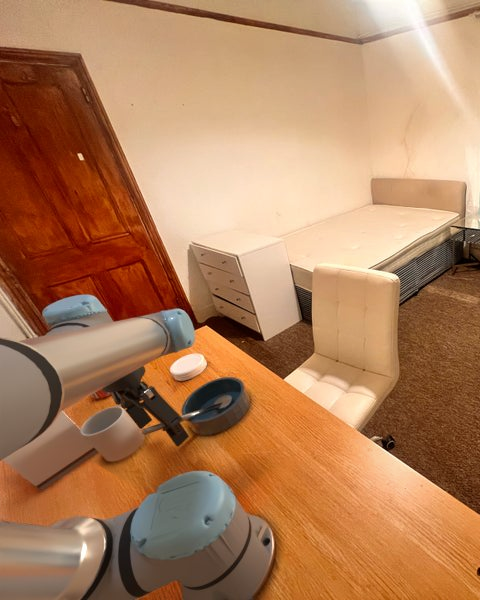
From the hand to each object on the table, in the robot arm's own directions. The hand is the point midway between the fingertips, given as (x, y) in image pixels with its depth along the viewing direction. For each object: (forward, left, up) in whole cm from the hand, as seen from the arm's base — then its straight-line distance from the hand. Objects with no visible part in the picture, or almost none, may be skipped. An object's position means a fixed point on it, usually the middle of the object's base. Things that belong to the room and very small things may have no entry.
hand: (163, 432), depth 74 cm
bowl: (+13, 0, -8) cm, 16 cm away
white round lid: (+22, +25, -9) cm, 35 cm away
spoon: (+7, 0, -8) cm, 11 cm away
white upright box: (-12, +27, -9) cm, 31 cm away
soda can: (+6, +43, -9) cm, 45 cm away
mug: (-4, +17, -9) cm, 20 cm away
